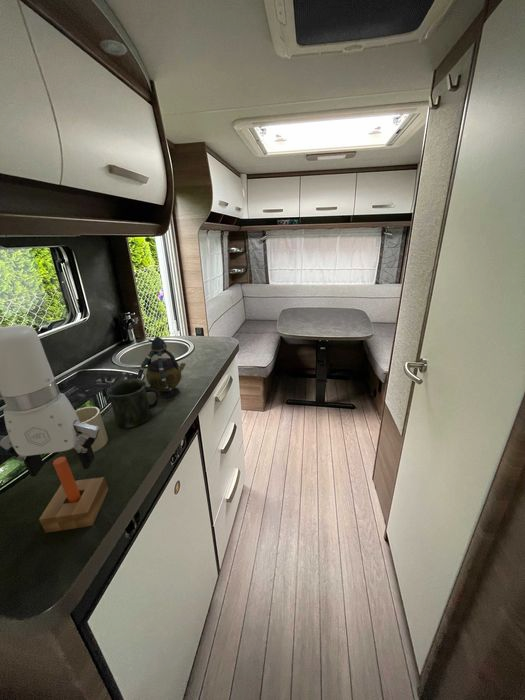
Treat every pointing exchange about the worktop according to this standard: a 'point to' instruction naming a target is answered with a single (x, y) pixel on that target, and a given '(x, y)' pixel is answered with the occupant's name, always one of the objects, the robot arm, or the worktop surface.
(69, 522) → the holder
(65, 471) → the orange rod
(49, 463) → the worktop surface
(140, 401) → the mug
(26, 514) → the worktop surface
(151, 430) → the worktop surface
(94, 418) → the cup
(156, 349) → the teapot
